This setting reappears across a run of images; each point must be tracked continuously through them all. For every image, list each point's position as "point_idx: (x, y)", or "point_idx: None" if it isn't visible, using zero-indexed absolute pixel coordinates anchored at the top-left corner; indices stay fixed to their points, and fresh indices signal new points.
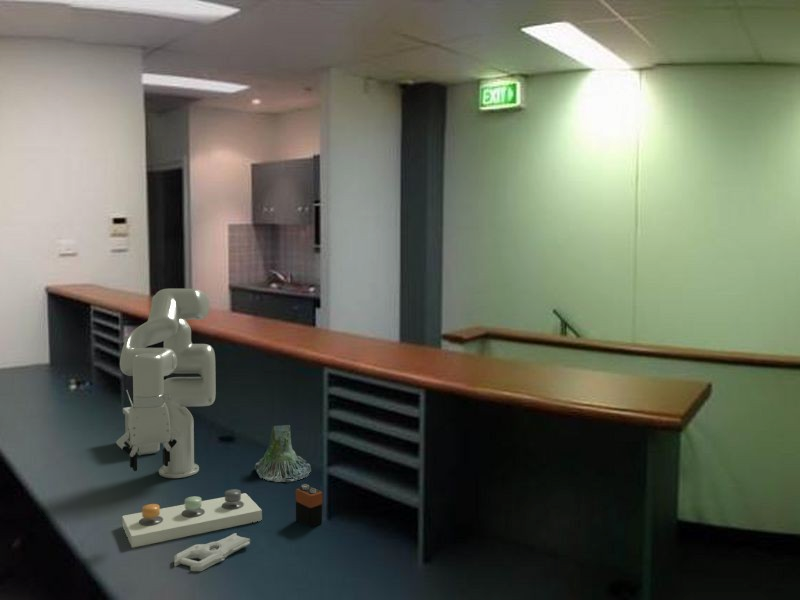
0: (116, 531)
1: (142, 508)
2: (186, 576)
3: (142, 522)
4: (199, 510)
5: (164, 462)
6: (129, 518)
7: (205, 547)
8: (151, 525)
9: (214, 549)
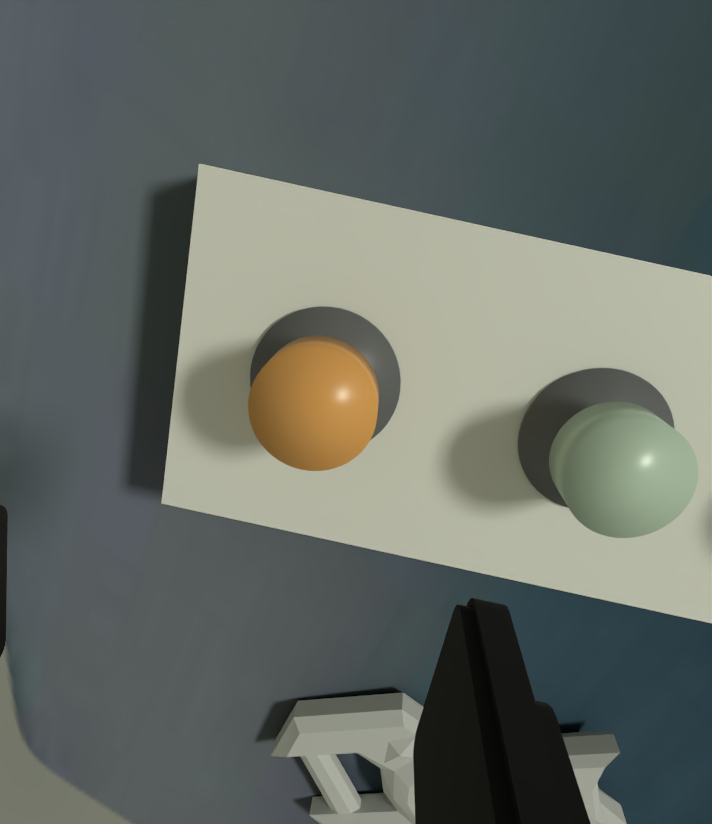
0: (172, 216)
1: (253, 393)
2: (283, 814)
3: None
4: None
5: (424, 755)
6: (226, 244)
7: None
8: None
9: None
